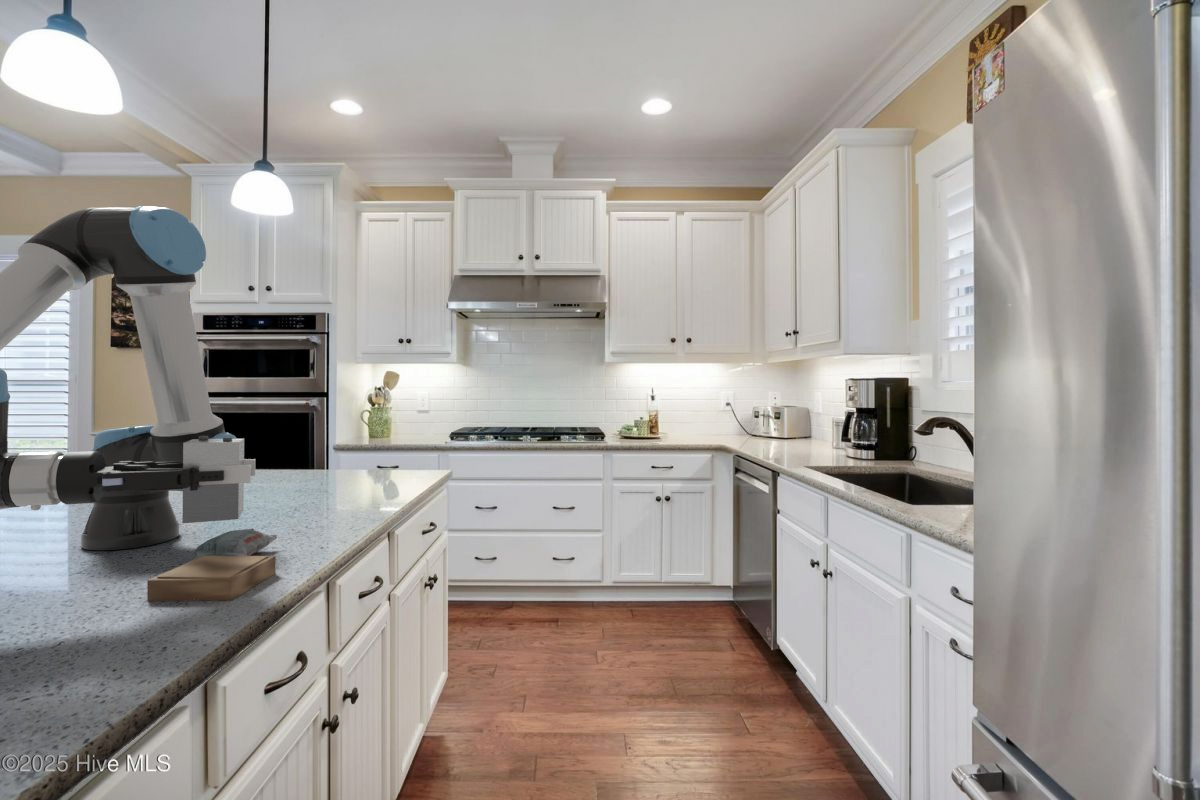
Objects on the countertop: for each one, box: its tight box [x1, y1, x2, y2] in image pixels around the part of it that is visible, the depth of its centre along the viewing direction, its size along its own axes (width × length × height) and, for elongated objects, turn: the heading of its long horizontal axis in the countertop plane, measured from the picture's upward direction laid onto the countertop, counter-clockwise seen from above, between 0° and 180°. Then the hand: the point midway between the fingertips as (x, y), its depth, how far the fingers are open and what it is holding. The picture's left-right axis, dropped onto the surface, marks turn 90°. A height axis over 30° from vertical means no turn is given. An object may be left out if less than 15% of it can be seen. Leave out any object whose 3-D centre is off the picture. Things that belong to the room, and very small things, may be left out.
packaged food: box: [193, 528, 278, 560], centre depth 101 cm, size 9×12×5 cm
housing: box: [182, 436, 245, 524], centre depth 87 cm, size 7×7×13 cm
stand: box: [146, 555, 277, 602], centre depth 87 cm, size 12×12×3 cm
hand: (252, 470), depth 89 cm, fingers closed on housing, 7 cm apart
